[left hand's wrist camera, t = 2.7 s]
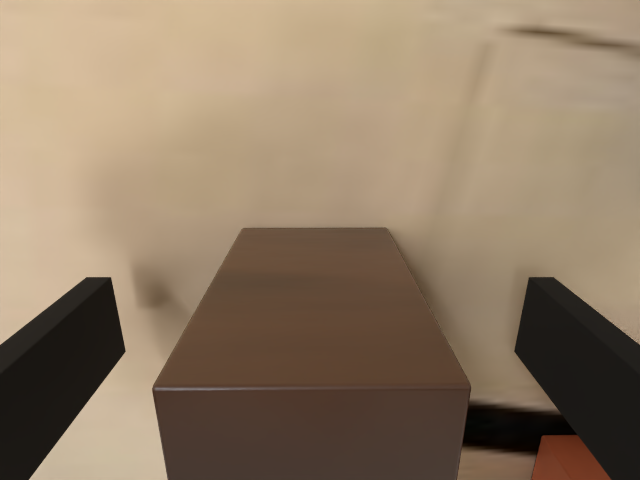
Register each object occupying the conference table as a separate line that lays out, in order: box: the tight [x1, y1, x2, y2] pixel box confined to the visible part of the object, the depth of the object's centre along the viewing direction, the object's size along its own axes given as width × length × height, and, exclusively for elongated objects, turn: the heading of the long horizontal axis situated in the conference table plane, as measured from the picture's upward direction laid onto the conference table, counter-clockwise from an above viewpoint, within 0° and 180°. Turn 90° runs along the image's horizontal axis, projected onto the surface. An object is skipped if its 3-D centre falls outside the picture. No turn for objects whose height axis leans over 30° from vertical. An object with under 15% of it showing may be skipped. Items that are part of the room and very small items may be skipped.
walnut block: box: [152, 228, 471, 480], centre depth 11 cm, size 5×5×8 cm
